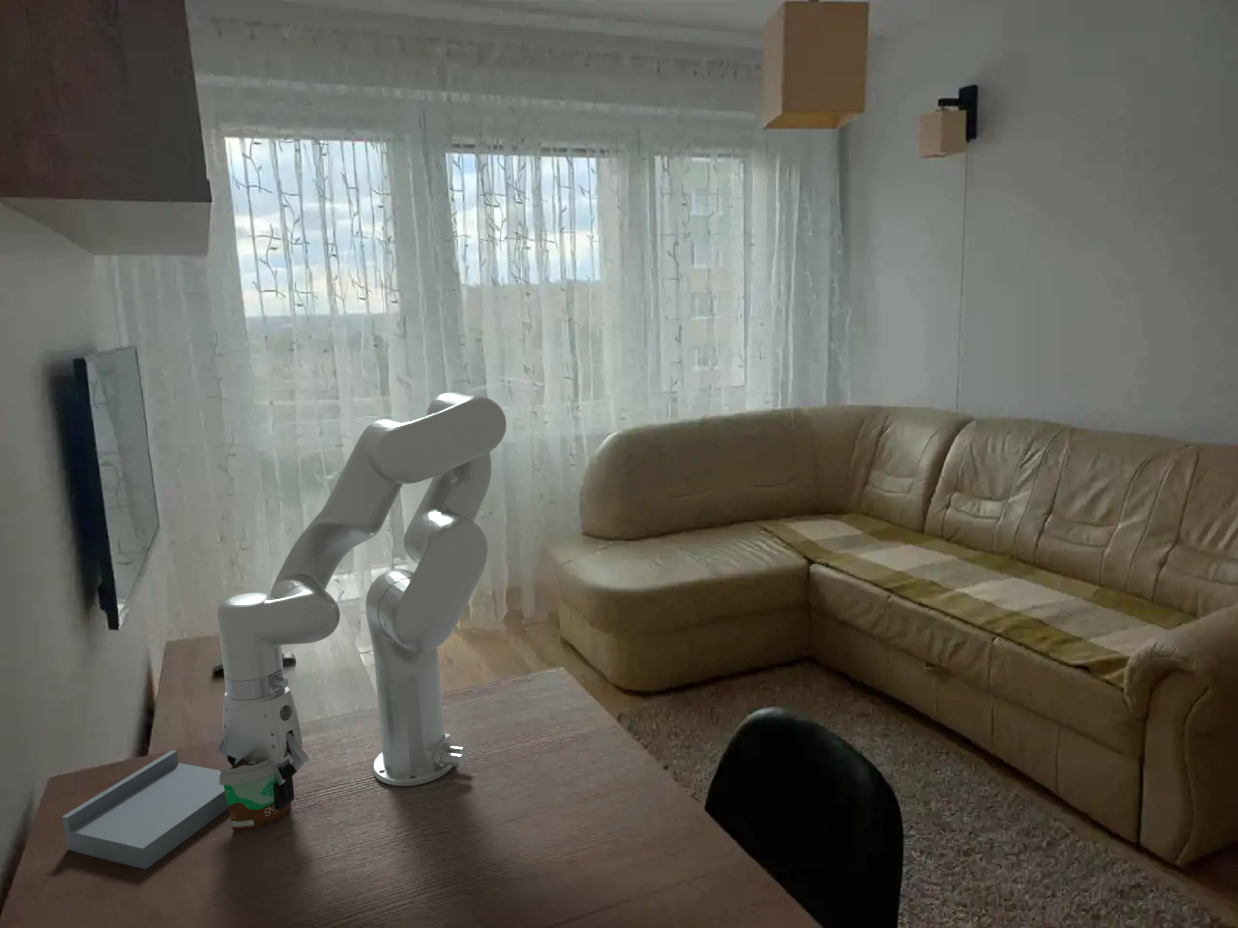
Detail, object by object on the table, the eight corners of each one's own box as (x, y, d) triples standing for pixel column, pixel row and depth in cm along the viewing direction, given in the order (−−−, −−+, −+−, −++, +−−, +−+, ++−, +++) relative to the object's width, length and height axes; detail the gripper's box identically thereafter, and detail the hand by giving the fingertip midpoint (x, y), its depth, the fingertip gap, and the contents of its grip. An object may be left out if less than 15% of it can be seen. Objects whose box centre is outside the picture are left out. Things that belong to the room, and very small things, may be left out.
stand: (248, 793, 125) (244, 763, 124) (145, 869, 108) (140, 834, 108) (176, 779, 130) (172, 749, 129) (67, 849, 113) (61, 816, 112)
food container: (265, 842, 113) (257, 775, 111) (225, 837, 115) (217, 770, 113) (316, 791, 125) (310, 730, 123) (280, 787, 126) (273, 726, 125)
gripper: (323, 678, 117) (334, 796, 120) (227, 664, 123) (240, 778, 126) (286, 701, 110) (299, 826, 113) (185, 686, 116) (200, 805, 119)
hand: (267, 799), depth 120 cm, fingers closed on food container, 5 cm apart
